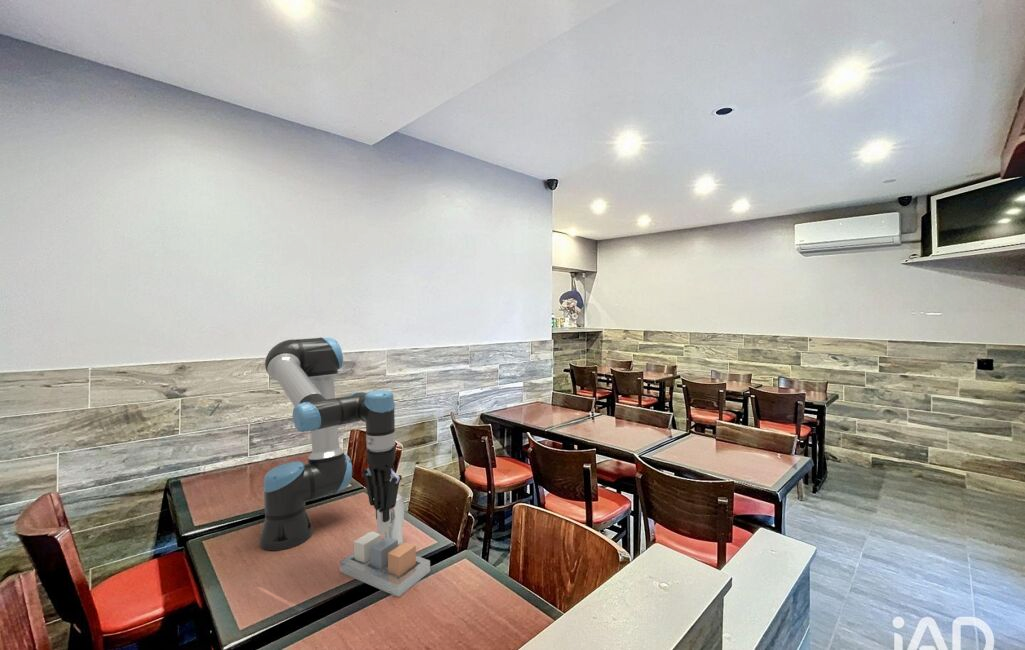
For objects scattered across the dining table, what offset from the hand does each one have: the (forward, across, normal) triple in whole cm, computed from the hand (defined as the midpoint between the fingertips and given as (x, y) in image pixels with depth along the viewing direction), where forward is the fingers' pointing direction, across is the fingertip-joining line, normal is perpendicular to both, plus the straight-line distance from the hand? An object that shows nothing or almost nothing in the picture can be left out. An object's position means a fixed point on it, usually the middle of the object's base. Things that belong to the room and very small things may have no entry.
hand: (383, 531), depth 118 cm
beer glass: (+13, -9, +12) cm, 20 cm away
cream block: (+8, -6, 0) cm, 10 cm away
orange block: (+8, +7, 0) cm, 11 cm away
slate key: (+8, +1, 0) cm, 8 cm away
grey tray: (+12, +1, 0) cm, 12 cm away
